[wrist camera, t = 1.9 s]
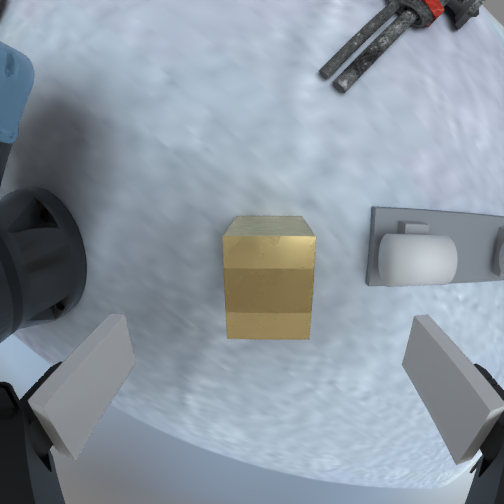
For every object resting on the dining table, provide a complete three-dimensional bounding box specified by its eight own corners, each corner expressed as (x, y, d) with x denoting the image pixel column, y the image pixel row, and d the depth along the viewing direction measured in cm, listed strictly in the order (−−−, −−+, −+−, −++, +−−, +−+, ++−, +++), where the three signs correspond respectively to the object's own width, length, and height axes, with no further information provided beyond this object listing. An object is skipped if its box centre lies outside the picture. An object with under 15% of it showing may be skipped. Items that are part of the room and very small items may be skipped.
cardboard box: (299, 293, 27) (309, 339, 19) (238, 292, 27) (227, 338, 20) (301, 216, 25) (315, 236, 18) (236, 216, 26) (222, 236, 18)
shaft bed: (365, 282, 26) (389, 313, 20) (371, 206, 25) (402, 218, 18) (509, 276, 25) (543, 296, 19) (518, 218, 23) (556, 230, 17)
